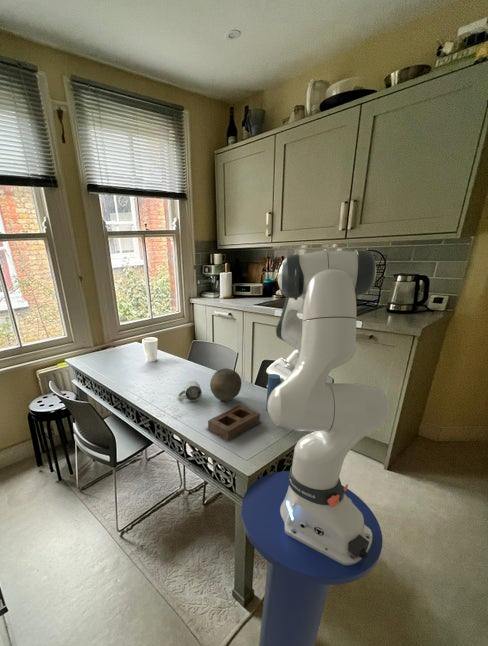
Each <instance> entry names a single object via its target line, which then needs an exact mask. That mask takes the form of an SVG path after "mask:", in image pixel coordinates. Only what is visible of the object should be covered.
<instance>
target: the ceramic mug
mask: <svg viewBox="0 0 488 646" xmlns="http://www.w3.org/2000/svg"><path fill="white" fill-rule="evenodd" d="M202 395H203V390H202V388H201V386H200V384H199V382H197V381H195V380H189V381H187V382H186V383H185V385H184V389H183V390H181V391H180V392H179V393H178V395H177V398H178V399H179V400H185V399H186V400H188V401H189V402H197V401H199V400H200V399H201V398H202Z"/></svg>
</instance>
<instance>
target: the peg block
mask: <svg viewBox="0 0 488 646" xmlns="http://www.w3.org/2000/svg"><path fill="white" fill-rule="evenodd" d="M260 418H261V414H260V413H259V412H257V411H255V410H253V409H250V408H248V407H246V406H244V405H242V404H238V405H236V406H234V407H232V408H230V409H228V410H226V411H224V412H222V413H220V414H218V415H216V416H214V417H212V418H209V420H207V430H208V431H210V432H212V433H214V434H215V435H217V436H219V437H221V438H223V439H224V440H226V441H227V442H228V441H230V440H232V439H233V438H235V437H236V436H239V435H240V434H242V433H244V432H246V431H247V430H249V429H251V428H252V427H254V426H256V425H257V424H259V423H260Z"/></svg>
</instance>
